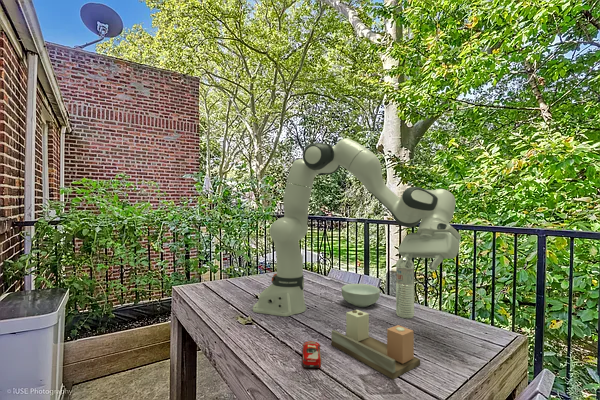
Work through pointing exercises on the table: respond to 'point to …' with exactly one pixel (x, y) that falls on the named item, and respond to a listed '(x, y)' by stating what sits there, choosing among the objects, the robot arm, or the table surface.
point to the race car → (311, 354)
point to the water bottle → (404, 289)
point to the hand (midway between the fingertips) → (419, 268)
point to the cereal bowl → (360, 294)
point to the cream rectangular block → (357, 325)
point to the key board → (372, 354)
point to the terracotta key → (400, 343)
